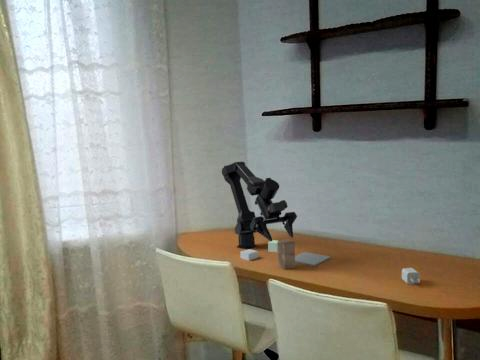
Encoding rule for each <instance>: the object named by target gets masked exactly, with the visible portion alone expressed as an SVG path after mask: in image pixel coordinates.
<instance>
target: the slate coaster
mask: <svg viewBox="0 0 480 360" xmlns="http://www.w3.org/2000/svg"><path fill="white" fill-rule="evenodd" d="M331 258H332V257H331V256H328V255H321V254H318V253H317V254H316V253H314V252H313V253H312V252H308V251H303V252H301V253H299V254H297V255H295V264H297V263H298V264H301V265H305V266H306V265H307V266H310V267H316V266H318V265H320V264H321V263H325V262H326V261H328V260H330V259H331Z"/></svg>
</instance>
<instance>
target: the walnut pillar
mask: <svg viewBox="0 0 480 360" xmlns="http://www.w3.org/2000/svg"><path fill="white" fill-rule="evenodd" d="M277 241H278V252H277V255H278V256H277V257H278V267H279V268H281V269H283V270H289V269H290V270H291V269H294V268H296V262H295V256H296V251H295V250H296V249H295V246H296V245H295V241H294V240H292V239H289V238H286V239H285V238H284V239H279V240H277Z"/></svg>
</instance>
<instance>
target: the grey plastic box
mask: <svg viewBox="0 0 480 360" xmlns="http://www.w3.org/2000/svg"><path fill="white" fill-rule="evenodd" d="M258 254H259V253H258V251H257V250H254V249H251V248H249V249H245V250H244V249H243V250H242V251H240V259H241V258H242V259H241V260H245V261H249V260H250V261H253V260H255V259H258V258H259V255H258Z"/></svg>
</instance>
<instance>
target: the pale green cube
mask: <svg viewBox="0 0 480 360" xmlns="http://www.w3.org/2000/svg"><path fill="white" fill-rule="evenodd" d="M278 241H279V240H277V239H276V240H275V239H272V241H269V240H268V242H267V245H268V246H267V250H268V251H267V252H271V253H278Z"/></svg>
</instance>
